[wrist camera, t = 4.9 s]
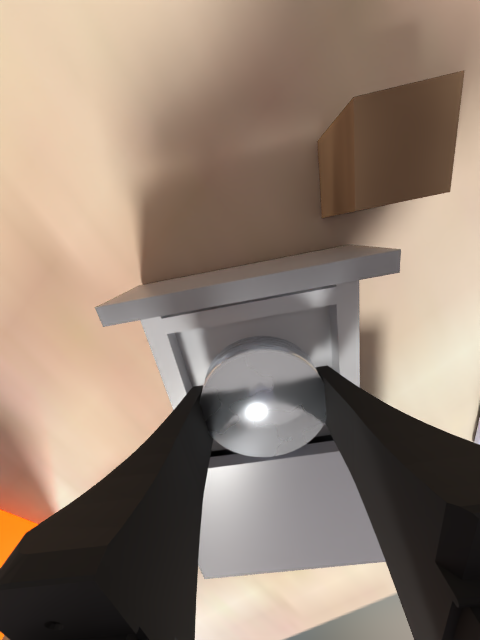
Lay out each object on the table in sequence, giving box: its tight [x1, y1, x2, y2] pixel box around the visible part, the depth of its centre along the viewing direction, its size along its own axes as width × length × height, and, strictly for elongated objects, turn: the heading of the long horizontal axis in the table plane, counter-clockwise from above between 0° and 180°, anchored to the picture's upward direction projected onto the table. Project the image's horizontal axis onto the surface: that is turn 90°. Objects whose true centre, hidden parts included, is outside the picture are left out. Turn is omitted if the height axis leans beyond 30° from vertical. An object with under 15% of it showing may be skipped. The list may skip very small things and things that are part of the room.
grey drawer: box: [95, 245, 401, 451], centre depth 12 cm, size 11×10×4 cm
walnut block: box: [317, 71, 464, 218], centre depth 9 cm, size 3×3×4 cm
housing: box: [198, 435, 386, 579], centre depth 15 cm, size 12×10×4 cm
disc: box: [200, 336, 327, 457], centre depth 10 cm, size 6×6×2 cm
